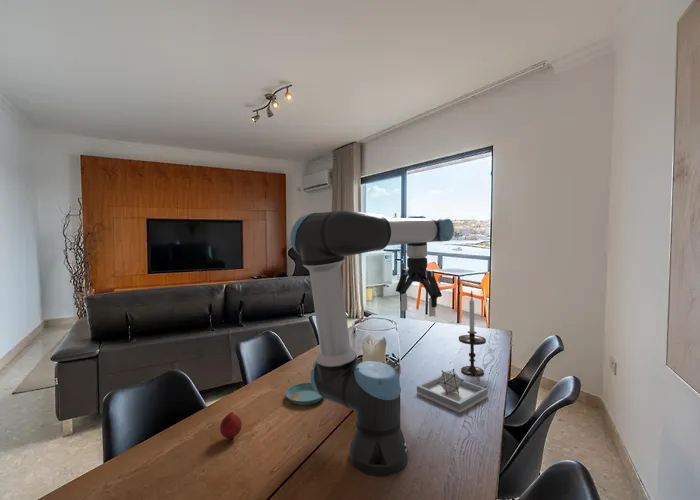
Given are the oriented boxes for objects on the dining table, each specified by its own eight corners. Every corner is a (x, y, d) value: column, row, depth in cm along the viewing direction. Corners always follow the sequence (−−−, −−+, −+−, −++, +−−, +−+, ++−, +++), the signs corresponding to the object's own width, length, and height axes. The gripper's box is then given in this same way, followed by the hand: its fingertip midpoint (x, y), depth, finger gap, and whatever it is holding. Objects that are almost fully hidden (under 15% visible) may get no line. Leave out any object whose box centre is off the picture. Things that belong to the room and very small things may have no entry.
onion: (229, 447, 93) (228, 418, 93) (216, 441, 96) (215, 413, 96) (246, 436, 98) (245, 409, 98) (233, 431, 101) (232, 404, 101)
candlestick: (481, 379, 135) (481, 292, 134) (455, 373, 142) (454, 290, 141) (489, 370, 144) (488, 289, 143) (463, 365, 150) (463, 287, 149)
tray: (460, 412, 109) (459, 403, 109) (416, 393, 123) (416, 385, 123) (487, 397, 120) (487, 388, 120) (444, 381, 134) (444, 373, 134)
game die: (455, 404, 120) (465, 389, 114) (432, 394, 122) (441, 379, 116) (458, 384, 127) (468, 368, 121) (436, 374, 129) (445, 359, 123)
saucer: (277, 399, 121) (277, 392, 121) (308, 386, 132) (308, 379, 132) (303, 413, 111) (303, 405, 111) (335, 397, 122) (335, 390, 122)
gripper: (451, 257, 120) (451, 316, 120) (399, 256, 139) (400, 306, 140) (438, 258, 115) (438, 320, 116) (386, 256, 135) (387, 309, 135)
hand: (417, 313), depth 128 cm, fingers open, 13 cm apart
